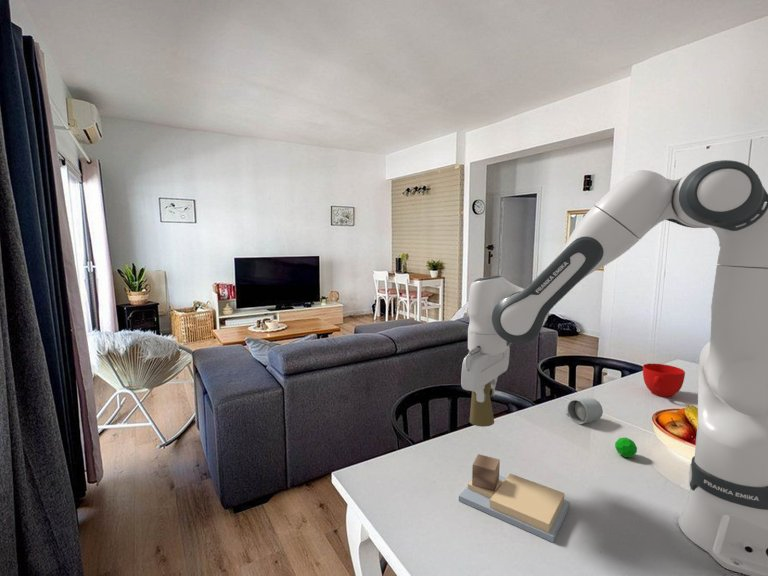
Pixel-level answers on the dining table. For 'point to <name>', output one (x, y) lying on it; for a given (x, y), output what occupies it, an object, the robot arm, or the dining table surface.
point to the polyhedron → (625, 447)
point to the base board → (521, 504)
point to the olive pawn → (482, 409)
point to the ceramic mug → (584, 410)
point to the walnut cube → (485, 472)
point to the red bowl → (663, 379)
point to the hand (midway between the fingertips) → (485, 397)
